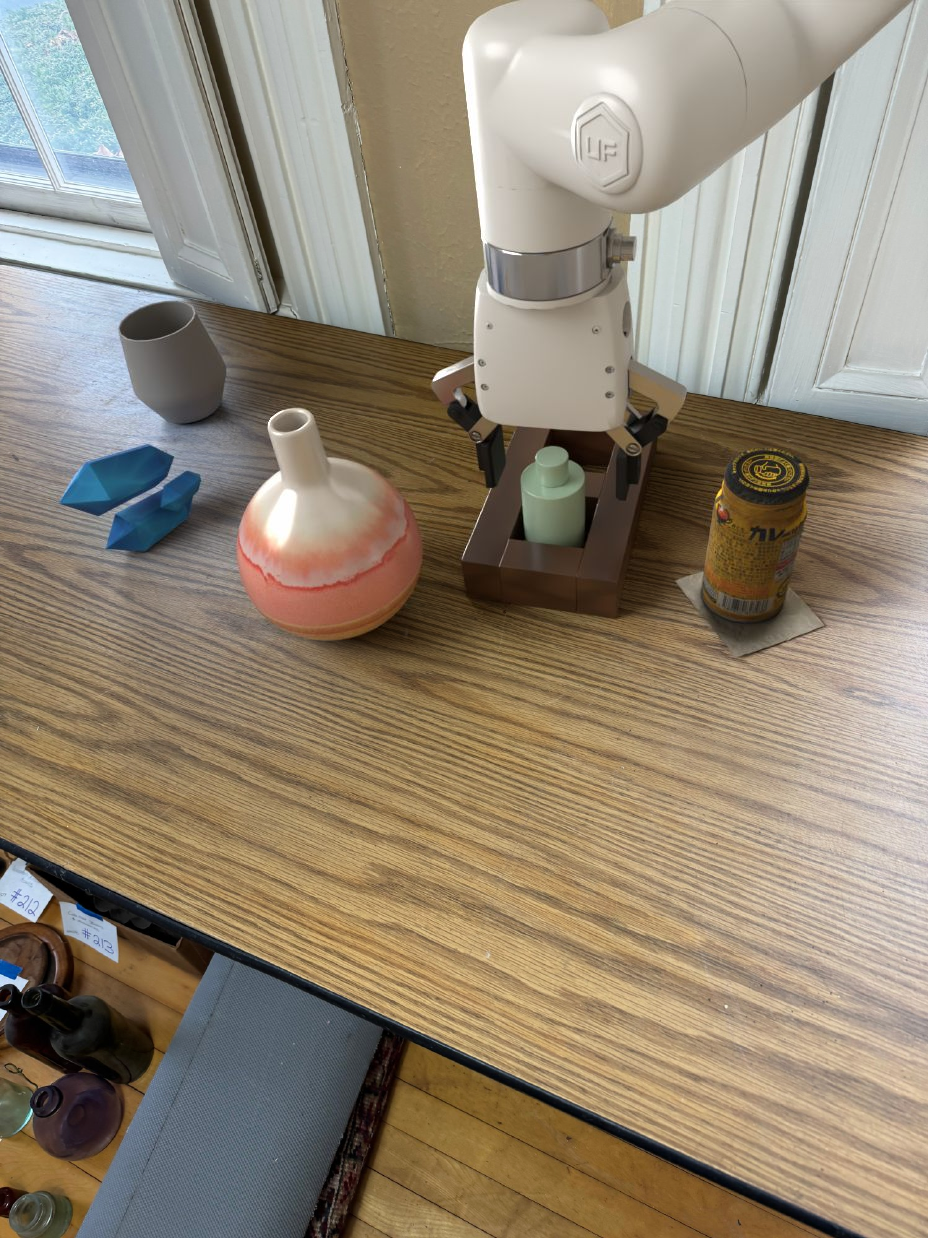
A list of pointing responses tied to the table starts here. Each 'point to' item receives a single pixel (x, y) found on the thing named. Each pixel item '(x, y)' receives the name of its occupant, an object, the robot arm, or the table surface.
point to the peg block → (550, 571)
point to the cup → (173, 361)
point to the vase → (326, 540)
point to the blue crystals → (133, 495)
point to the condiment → (754, 553)
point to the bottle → (554, 499)
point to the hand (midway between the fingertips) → (559, 482)
